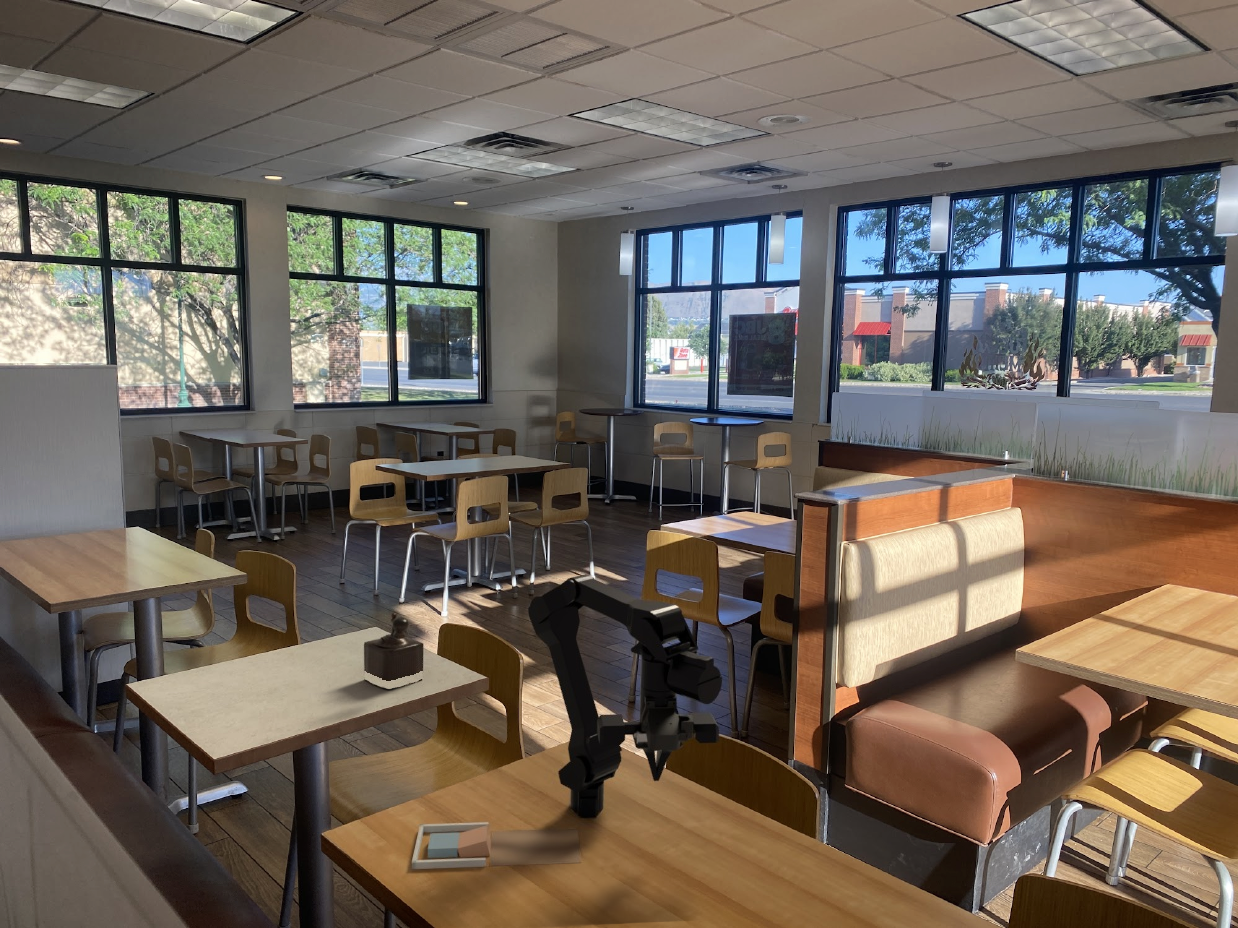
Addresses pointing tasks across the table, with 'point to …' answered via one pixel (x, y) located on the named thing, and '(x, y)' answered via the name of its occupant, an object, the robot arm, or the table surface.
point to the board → (534, 847)
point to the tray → (446, 862)
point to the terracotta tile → (474, 842)
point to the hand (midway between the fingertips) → (655, 779)
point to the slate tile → (443, 845)
